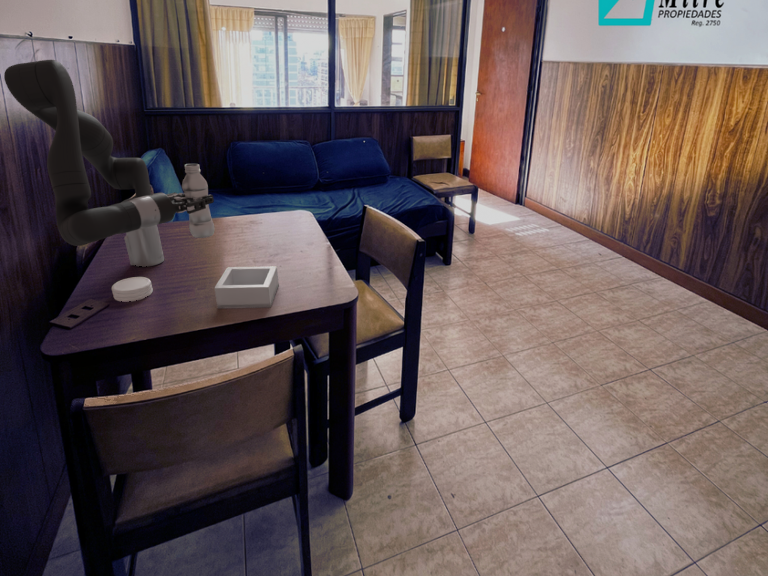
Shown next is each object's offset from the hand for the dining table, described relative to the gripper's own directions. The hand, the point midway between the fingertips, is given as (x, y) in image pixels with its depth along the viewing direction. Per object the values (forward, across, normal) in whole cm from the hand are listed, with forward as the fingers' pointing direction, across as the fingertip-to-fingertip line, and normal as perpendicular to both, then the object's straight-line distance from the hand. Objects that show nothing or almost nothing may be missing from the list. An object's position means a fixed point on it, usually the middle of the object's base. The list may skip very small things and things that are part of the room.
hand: (204, 196), depth 133 cm
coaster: (-19, +13, +26) cm, 35 cm away
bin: (-2, -16, +26) cm, 30 cm away
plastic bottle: (-2, 0, +11) cm, 11 cm away
